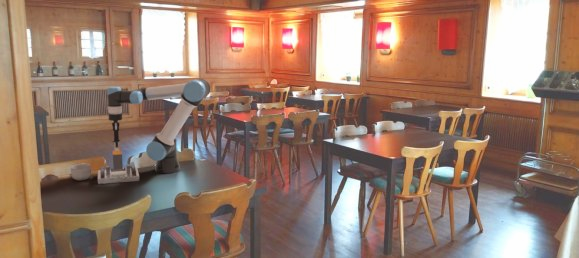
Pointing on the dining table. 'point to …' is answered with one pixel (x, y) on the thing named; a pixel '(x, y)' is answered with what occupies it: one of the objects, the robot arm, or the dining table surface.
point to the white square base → (131, 169)
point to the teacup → (81, 171)
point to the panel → (117, 175)
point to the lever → (117, 161)
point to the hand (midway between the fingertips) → (117, 152)
